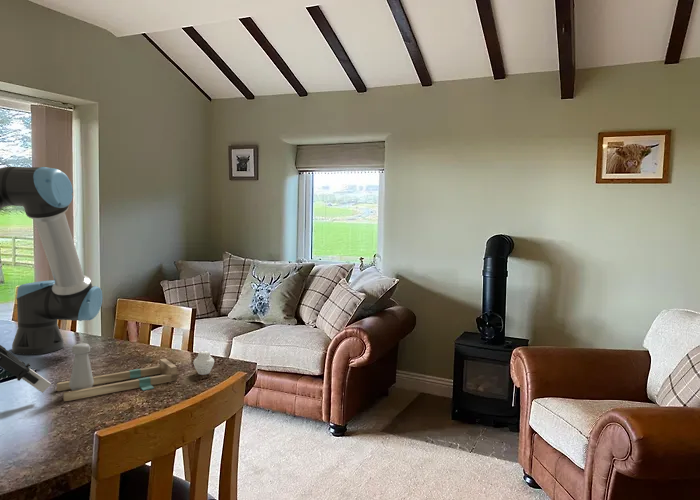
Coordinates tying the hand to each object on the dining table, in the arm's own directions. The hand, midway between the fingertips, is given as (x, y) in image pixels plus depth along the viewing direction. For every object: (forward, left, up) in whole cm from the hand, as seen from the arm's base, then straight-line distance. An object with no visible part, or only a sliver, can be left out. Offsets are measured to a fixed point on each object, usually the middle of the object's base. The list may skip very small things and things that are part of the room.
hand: (46, 387), depth 132 cm
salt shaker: (-1, +8, -3) cm, 9 cm away
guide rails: (-1, +18, -3) cm, 18 cm away
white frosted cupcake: (+2, +41, -3) cm, 42 cm away
